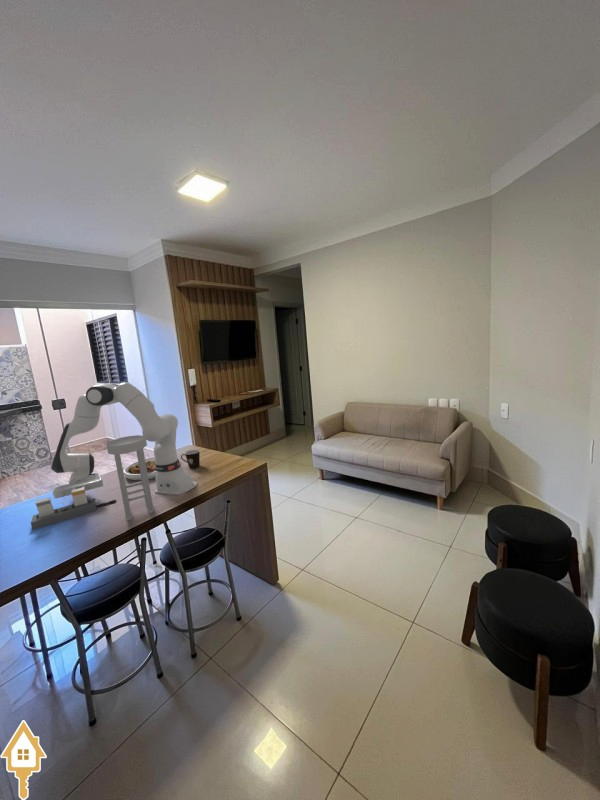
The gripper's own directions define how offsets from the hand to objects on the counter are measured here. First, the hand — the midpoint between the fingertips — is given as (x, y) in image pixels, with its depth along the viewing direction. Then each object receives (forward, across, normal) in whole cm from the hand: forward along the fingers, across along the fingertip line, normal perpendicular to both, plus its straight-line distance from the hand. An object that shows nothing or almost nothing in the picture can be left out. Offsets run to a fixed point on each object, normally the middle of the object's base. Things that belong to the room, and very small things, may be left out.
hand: (78, 492), depth 149 cm
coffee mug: (-21, +58, +10) cm, 63 cm away
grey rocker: (0, -13, +6) cm, 14 cm away
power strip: (-1, -2, +10) cm, 10 cm away
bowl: (-32, +36, +10) cm, 49 cm away
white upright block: (0, 0, +6) cm, 6 cm away
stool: (+19, +22, +10) cm, 31 cm away
